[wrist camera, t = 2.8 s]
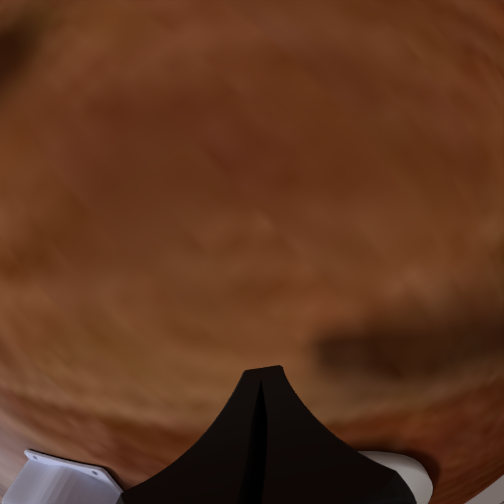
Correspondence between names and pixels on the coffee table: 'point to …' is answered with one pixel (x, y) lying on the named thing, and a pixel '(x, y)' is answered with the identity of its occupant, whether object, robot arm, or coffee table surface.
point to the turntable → (406, 472)
